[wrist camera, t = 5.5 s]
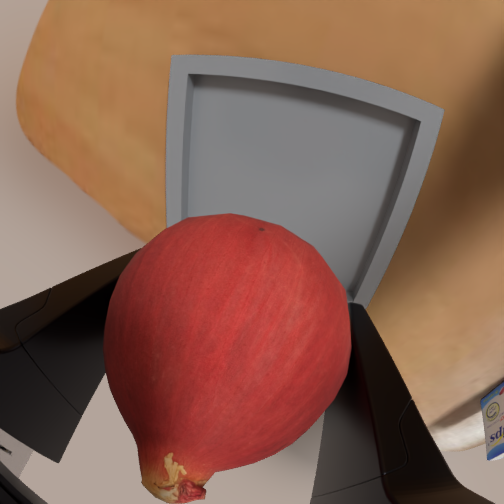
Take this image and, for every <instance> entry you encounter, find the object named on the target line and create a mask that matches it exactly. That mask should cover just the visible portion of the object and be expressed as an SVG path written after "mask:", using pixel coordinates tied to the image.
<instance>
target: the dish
mask: <svg viewBox="0 0 504 504" xmlns="http://www.w3.org/2000/svg"><path fill="white" fill-rule="evenodd" d="M443 114H444V109H442V108H440V107H438V106H435V105H433V104H431V103H428V102H426V101H424V100H421V99H419V98H416V97H414V96H411V95H409V94H406V93H403V92H400V91H398V90H395V89H392V88H389V87H386V86H383V85H380V84H377V83H374V82H370V81H367V80H364V79H360V78H357V77H353V76H349V75H345V74H342V73H337V72H333V71H329V70H325V69H320V68H315V67H310V66H305V65H299V64H294V63H288V62H281V61H274V60H266V59H258V58H248V57H235V56H219V55H172V57H171V67H170V79H169V93H168V109H167V132H166V217H167V228H168V227H170V226H172V225H174V224H176V223H178V222H180V221H182V220H184V219H186V218H188V217H197V216H207V215H217V214H227V213H232V214H239V215H245V216H248V217H252V218H256V219H259V220H263V221H267V222H270V223H274V224H277V225H281V226H283V227H284V228H286V229H287V230H289V231H291V232H292V233H294V234H295V235H297V236H298V237H300V238H301V239H303V240H305V241H306V242H308V243H309V244H311V245H312V246H314V247H315V249H316V250H317V251H318V252H319V253H320V255H321V256H322V257H323V259H324V260H325V261H326V263H327V264H328V266H329V267H330V268H331V270H332V271H333V273H334V274H335V276H336V277H337V278H338V280H339V281H340V283H341V284H342V286H343V287H344V289H345V290H346V297H347V304H348V303H349V302H354V303H358V304H361V305H363V306H364V308H365V310H366V308H367V306H368V304H369V303H370V301H371V299H372V297H373V295H374V293H375V291H376V289H377V287H378V285H379V283H380V281H381V279H382V277H383V275H384V273H385V271H386V269H387V267H388V265H389V263H390V261H391V259H392V257H393V254H394V252H395V250H396V248H397V246H398V243H399V241H400V239H401V237H402V234H403V232H404V230H405V227H406V225H407V222H408V220H409V218H410V215H411V213H412V210H413V207H414V205H415V202H416V200H417V197H418V194H419V192H420V189H421V186H422V183H423V181H424V178H425V175H426V172H427V169H428V166H429V163H430V160H431V156H432V153H433V150H434V147H435V143H436V140H437V136H438V133H439V129H440V126H441V122H442V118H443Z"/></svg>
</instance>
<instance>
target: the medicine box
mask: <svg viewBox="0 0 504 504" xmlns="http://www.w3.org/2000/svg"><path fill="white" fill-rule="evenodd" d="M480 403H481V409H482V415H483V423H484V431H485V440H486V451H487V460H489V461H492V460H498V459H502V458H504V381H503V382H502V383H501V384H500V385H499V386H497V387H496V388H495V389H494V390H493V391H491V392H490V393H489V394H488V395H486V396H485V397H484V398H482V399H481V401H480Z"/></svg>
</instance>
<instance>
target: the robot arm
mask: <svg viewBox="0 0 504 504" xmlns="http://www.w3.org/2000/svg"><path fill="white" fill-rule="evenodd" d="M140 249H141V248H140ZM140 249H138V250H135V251H133V252H131V253H129V254H126V255H123V256H121V257H119V258H116V259H114V260H112V261H109V262H107V263H105V264H102V265H100V266H98V267H95V268H93V269H91V270H89V271H86V272H85V273H82V274H80V275H78V276H75V277H73V278H71V279H68V280H66V281H64V282H62V283H60V284H58V285H56V286H53V287H52V288H49V289H47V290H45V291H43V292H40V293H38V294H36V295H34V296H31V297H29V298H27V299H24V300H22V301H20V302H17V303H15V304H12V305H9V306H7V307H5V308H2V309H0V504H47V503H46V502H45V501H44V500H43V499H41V498H40V497H39V496H38V495H37V494H35V493H34V492H33V491H32V490H31V489H29V488H28V487H27V486H26V485H25V484H24V483H23V482H22V481H20V480H19V479H18V478H19V476H20V474H21V472H22V471H23V469H24V467H25V465H26V463H27V461H28V460H29V458H30V456H31V454H32V452H33V450H35V451H36V452H38V453H40V454H41V455H43V456H45V457H47V458H49V459H51V460H53V461H54V462H56V463H59V462H60V460H61V458H62V456H63V454H64V452H65V450H66V447H67V445H68V443H69V441H70V439H71V437H72V435H73V433H74V431H75V429H76V427H77V425H78V423H79V421H80V419H81V417H82V415H83V413H84V411H85V409H86V408H87V406H88V404H89V402H90V400H91V398H92V396H93V395H94V393H95V391H96V389H97V387H98V385H99V383H100V382H101V380H102V378H103V376H104V375H105V373H106V371H105V364H104V354H103V341H104V329H105V322H106V317H107V312H108V307H109V302H110V299H111V296H112V294H113V291H114V289H115V286H116V284H117V281H118V279H119V277H120V275H121V273H122V272H123V270H124V269H125V268H126V266H127V265H128V263H129V262H130V261H131V259H132V258H133V257H134V255H135V254H136V253H137V252H138V251H139V250H140ZM348 311H349V319H350V332H351V353H350V360H349V366H348V372H347V376H346V378H345V380H344V382H343V384H342V386H341V387H340V389H339V391H338V393H337V395H336V397H335V399H334V400H333V401H332V403H331V404H330V405H329V406H328V408H327V409H326V410H325V415H324V423H323V431H322V439H321V445H320V451H319V458H318V464H317V471H316V476H315V481H314V487H313V492H312V498H311V501H310V504H495V503H493V502H491V501H489V500H487V499H486V498H484V497H482V496H480V495H478V494H476V493H474V492H473V491H471V490H469V489H467V488H466V487H464V486H463V485H462V484H461V483H460V482H459V481H458V480H457V479H456V478H455V477H454V475H453V473H452V472H451V470H450V468H449V467H448V465H447V463H446V461H445V459H444V457H443V456H442V454H441V452H440V450H439V448H438V447H437V445H436V443H435V441H434V440H433V438H432V436H431V434H430V432H429V430H428V429H427V427H426V425H425V423H424V421H423V419H422V417H421V415H420V413H419V411H418V409H417V407H416V405H415V402H414V400H411V399H412V396H411V394H410V392H409V390H408V388H407V386H406V384H405V382H404V380H403V378H402V376H401V374H400V372H399V370H398V368H397V367H396V365H395V363H394V361H393V359H392V357H391V355H390V353H389V351H388V349H387V348H386V346H385V344H384V342H383V340H382V338H381V337H380V335H379V333H378V331H377V329H376V327H375V326H374V324H373V322H372V320H371V319H370V317H369V315H368V313H367V312H366V310H365V308H364V306H363V305H361V304H358V303H354V302H349V303H348Z"/></svg>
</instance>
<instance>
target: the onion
mask: <svg viewBox="0 0 504 504" xmlns="http://www.w3.org/2000/svg"><path fill="white" fill-rule="evenodd" d="M350 353H351V332H350V319H349V311H348V304H347V297H346V290H345V289H344V287H343V286H342V284H341V283H340V281H339V280H338V278H337V277H336V276H335V274H334V273H333V271H332V270H331V268H330V267H329V266H328V264H327V263H326V261H325V260H324V259H323V257H322V256H321V255H320V253H319V252H318V251H317V250H316V249H315V247H314V246H312V245H311V244H309V243H308V242H306V241H305V240H303V239H301V238H300V237H298V236H297V235H295V234H294V233H292V232H291V231H289V230H287V229H286V228H284V227H283V226H281V225H277V224H274V223H270V222H267V221H263V220H259V219H256V218H252V217H248V216H245V215H239V214H232V213H227V214H217V215H207V216H197V217H188V218H186V219H184V220H182V221H180V222H178V223H176V224H174V225H172V226H170V227H168V228H166V229H165V230H163V231H162V232H161V233H160V234H158V235H157V236H156V237H155V238H153V239H152V240H151V241H150V242H149V243H147V244H146V245H145V246H144V247H143V248H141V249H140V250H139V251H138V252H137V253H136V254H135V255H134V257H133V258H132V259H131V261H130V262H129V263H128V265H127V266H126V268H125V269H124V270H123V272H122V273H121V275H120V277H119V279H118V281H117V284H116V286H115V289H114V291H113V294H112V296H111V299H110V302H109V307H108V312H107V317H106V322H105V329H104V341H103V354H104V364H105V371H106V375H107V379H108V383H109V387H110V390H111V393H112V395H113V398H114V400H115V402H116V404H117V406H118V409H119V411H120V413H121V415H122V417H123V419H124V421H125V422H126V424H127V426H128V428H129V429H130V431H131V433H132V434H133V437H134V439H135V441H136V444H137V448H138V456H139V464H140V471H141V476H142V482H141V483H142V484H143V486H145V488H146V489H147V490H148V491H149V492H150V493H151V494H152V495H153V496H155V497H156V498H158V499H160V500H162V501H165V502H166V503H169V504H179V503H181V504H182V503H187V502H191V501H194V500H199V499H205V495H206V489H204V488H203V486H204V485H205V484H206V482H207V481H208V480H209V479H210V478H211V476H212V475H213V474H214V473H215V472H219V471H224V470H229V469H233V468H237V467H241V466H245V465H249V464H252V463H255V462H258V461H260V460H263V459H265V458H267V457H270V456H272V455H274V454H276V453H278V452H279V451H281V450H283V449H284V448H286V447H287V446H289V445H291V444H292V443H293V442H295V441H296V440H297V439H298V438H299V437H300V436H301V435H303V434H304V433H305V432H306V431H307V430H308V429H309V428H310V427H311V426H312V425H313V424H314V423H315V421H316V420H317V419H318V418H319V417H320V416H321V415H322V413H323V412H324V411H325V410H326V409H327V408H328V406H329V405H330V404H331V403H332V401H333V400H334V399H335V397H336V395H337V393H338V391H339V389H340V387H341V386H342V384H343V382H344V380H345V378H346V376H347V372H348V366H349V360H350Z"/></svg>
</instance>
